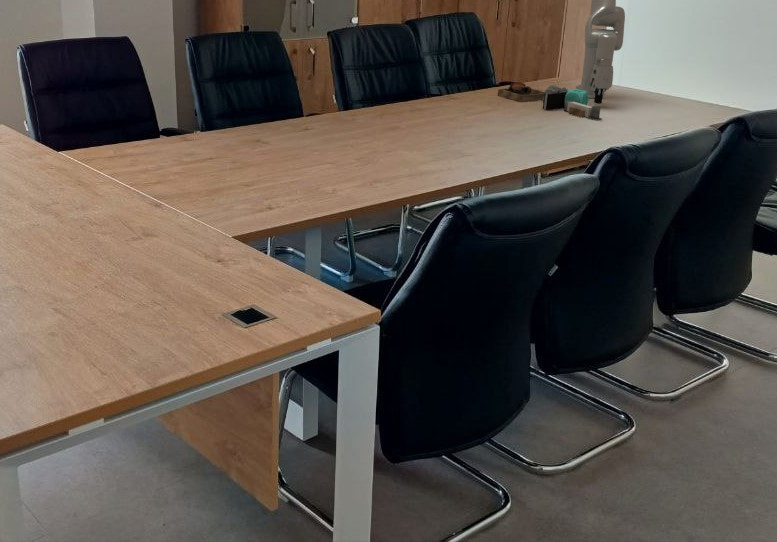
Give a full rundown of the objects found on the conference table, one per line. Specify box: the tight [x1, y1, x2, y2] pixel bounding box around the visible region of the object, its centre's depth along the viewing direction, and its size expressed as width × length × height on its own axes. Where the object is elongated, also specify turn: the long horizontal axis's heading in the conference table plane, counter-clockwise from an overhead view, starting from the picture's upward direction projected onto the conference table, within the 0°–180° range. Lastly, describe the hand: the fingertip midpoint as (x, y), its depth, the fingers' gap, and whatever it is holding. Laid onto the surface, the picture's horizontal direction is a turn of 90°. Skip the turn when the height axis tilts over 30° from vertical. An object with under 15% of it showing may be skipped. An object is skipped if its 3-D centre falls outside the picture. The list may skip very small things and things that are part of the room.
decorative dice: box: [564, 88, 589, 106], centre depth 406 cm, size 8×8×8 cm
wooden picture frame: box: [497, 87, 545, 103], centre depth 425 cm, size 16×18×3 cm
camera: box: [542, 84, 569, 111], centre depth 405 cm, size 15×7×10 cm, turn 133°
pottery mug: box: [508, 81, 532, 95], centre depth 423 cm, size 12×10×8 cm
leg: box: [563, 100, 592, 118], centre depth 396 cm, size 16×4×4 cm, turn 32°
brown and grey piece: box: [568, 105, 603, 121], centre depth 391 cm, size 15×7×5 cm, turn 33°
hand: (597, 103), depth 414 cm, fingers closed
